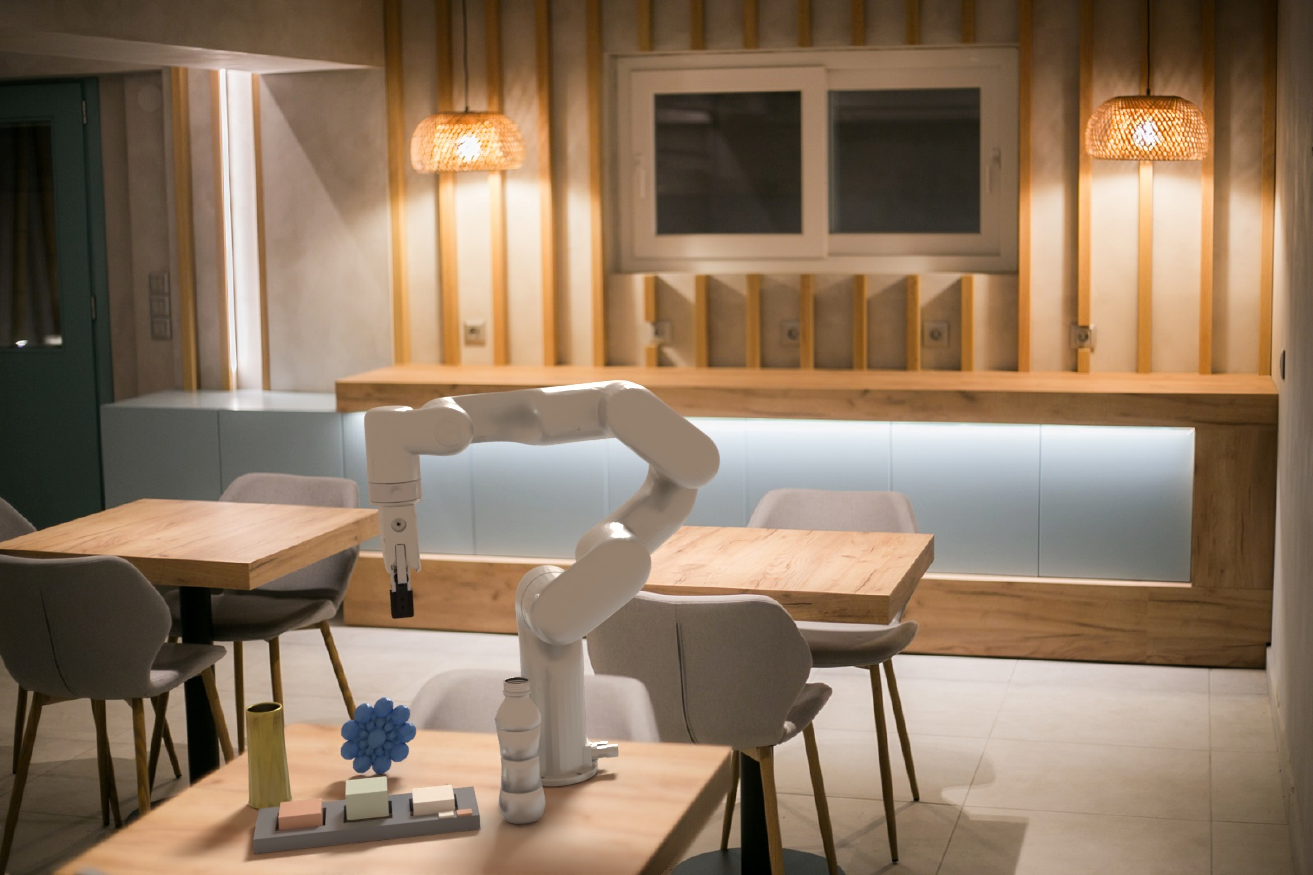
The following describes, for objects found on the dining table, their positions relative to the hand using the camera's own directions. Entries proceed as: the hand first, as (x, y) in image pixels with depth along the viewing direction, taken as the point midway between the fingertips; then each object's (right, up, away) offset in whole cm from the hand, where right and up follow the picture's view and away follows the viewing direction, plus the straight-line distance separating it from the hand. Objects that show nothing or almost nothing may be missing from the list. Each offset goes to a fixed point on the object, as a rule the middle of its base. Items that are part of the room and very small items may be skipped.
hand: (402, 616), depth 209 cm
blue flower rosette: (-5, -25, +12) cm, 28 cm away
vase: (-19, -27, +1) cm, 33 cm away
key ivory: (+6, -28, -8) cm, 29 cm away
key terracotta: (-12, -29, -11) cm, 33 cm away
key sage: (-3, -26, -10) cm, 28 cm away
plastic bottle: (+18, -27, -9) cm, 34 cm away
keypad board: (-3, -28, -9) cm, 30 cm away
